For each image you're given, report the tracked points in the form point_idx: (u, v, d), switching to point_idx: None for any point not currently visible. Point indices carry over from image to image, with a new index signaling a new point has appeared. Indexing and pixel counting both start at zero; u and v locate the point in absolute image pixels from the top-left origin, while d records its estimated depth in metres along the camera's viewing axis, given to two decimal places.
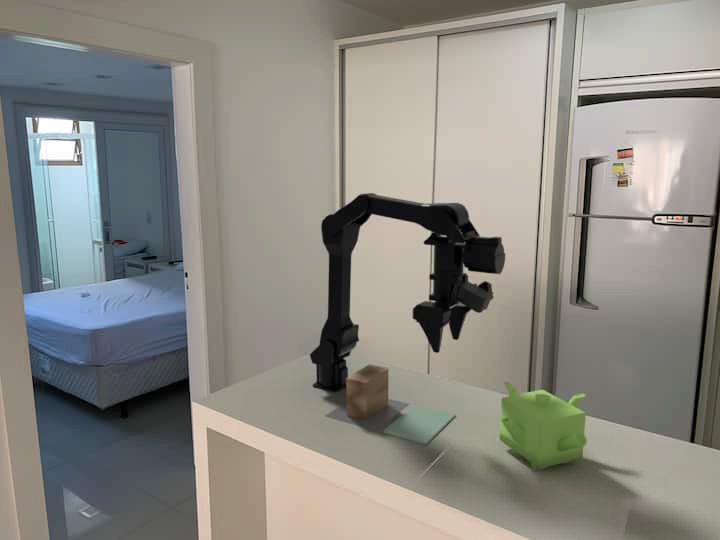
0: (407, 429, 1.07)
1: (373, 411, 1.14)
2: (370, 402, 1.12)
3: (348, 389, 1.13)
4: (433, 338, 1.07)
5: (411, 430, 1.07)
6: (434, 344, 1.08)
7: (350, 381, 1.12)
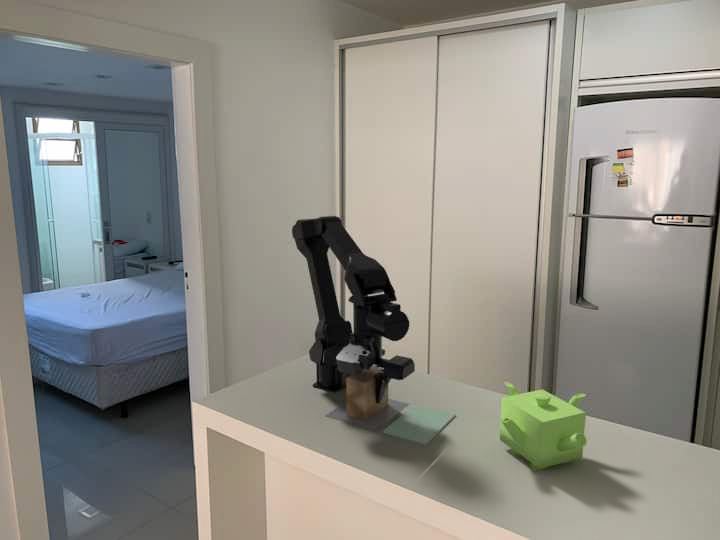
0: (407, 429, 1.07)
1: (373, 411, 1.14)
2: (370, 402, 1.12)
3: (348, 389, 1.13)
4: None
5: (411, 430, 1.07)
6: None
7: (350, 381, 1.12)
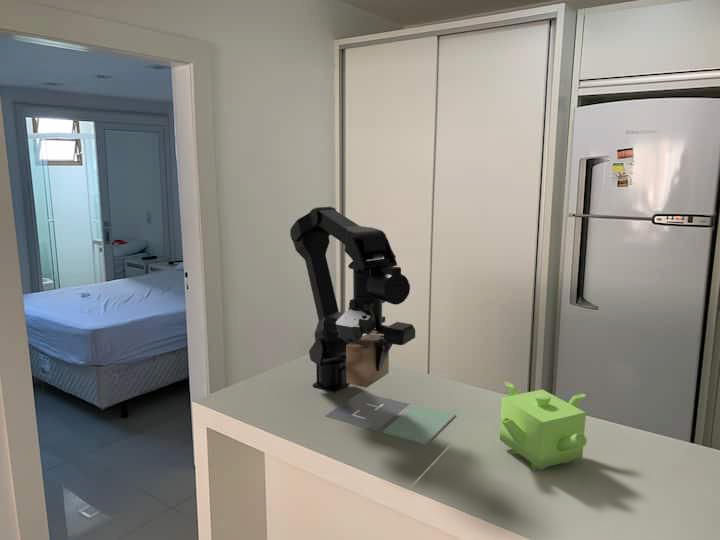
0: (407, 429, 1.07)
1: (374, 379, 1.13)
2: (370, 369, 1.11)
3: (348, 356, 1.11)
4: None
5: (411, 430, 1.07)
6: None
7: (350, 347, 1.11)
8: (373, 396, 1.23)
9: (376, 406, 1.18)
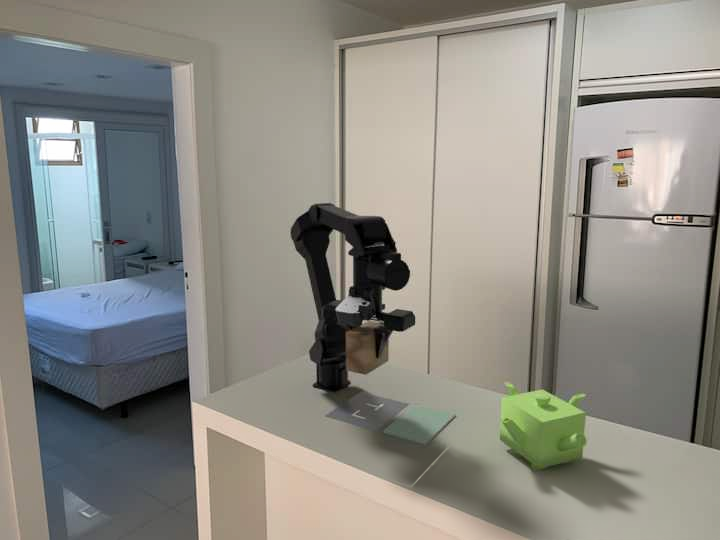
0: (407, 429, 1.07)
1: (373, 366, 1.12)
2: (370, 356, 1.11)
3: (348, 343, 1.11)
4: None
5: (411, 430, 1.07)
6: None
7: (350, 334, 1.10)
8: (373, 396, 1.23)
9: (376, 406, 1.18)
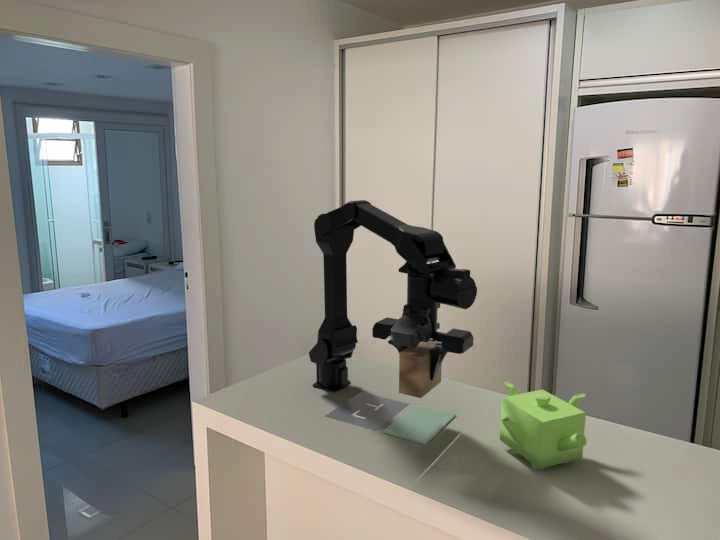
0: (407, 429, 1.07)
1: (428, 389, 1.06)
2: (425, 379, 1.05)
3: (401, 364, 1.05)
4: None
5: (411, 430, 1.07)
6: None
7: (404, 355, 1.04)
8: (373, 396, 1.23)
9: (376, 406, 1.18)
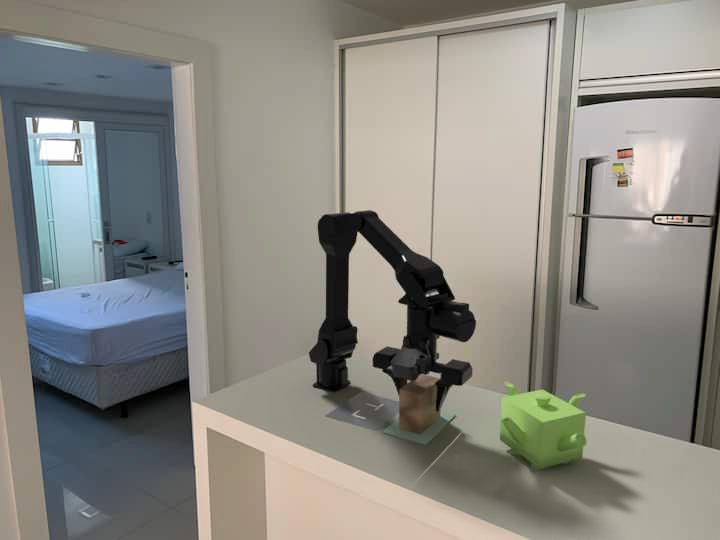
0: None
1: (427, 424, 1.08)
2: (425, 415, 1.06)
3: (401, 401, 1.06)
4: None
5: None
6: None
7: (404, 392, 1.06)
8: (373, 396, 1.23)
9: (376, 406, 1.18)
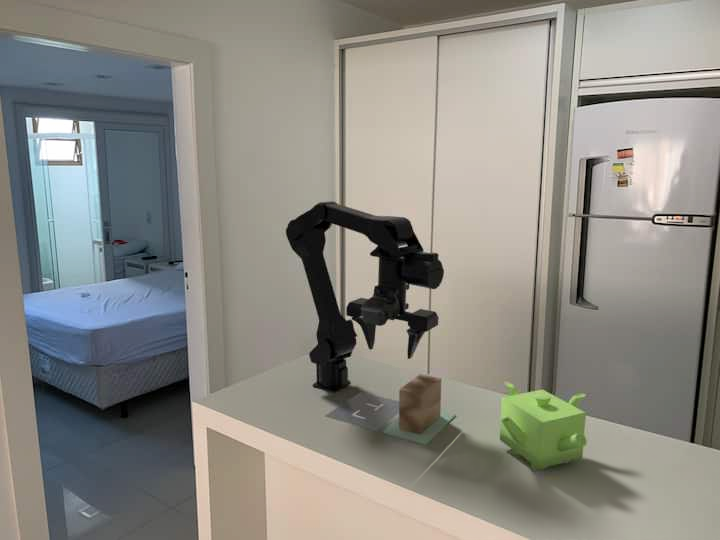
0: None
1: (427, 424, 1.08)
2: (425, 415, 1.06)
3: (401, 401, 1.06)
4: None
5: None
6: None
7: (404, 392, 1.06)
8: (373, 396, 1.23)
9: (376, 406, 1.18)
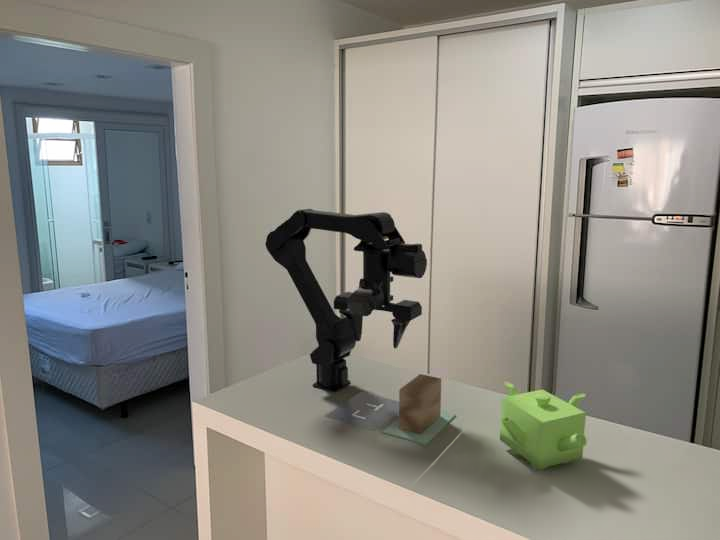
0: None
1: (427, 424, 1.08)
2: (425, 415, 1.06)
3: (401, 401, 1.06)
4: None
5: None
6: None
7: (404, 392, 1.06)
8: (373, 396, 1.23)
9: (376, 406, 1.18)
